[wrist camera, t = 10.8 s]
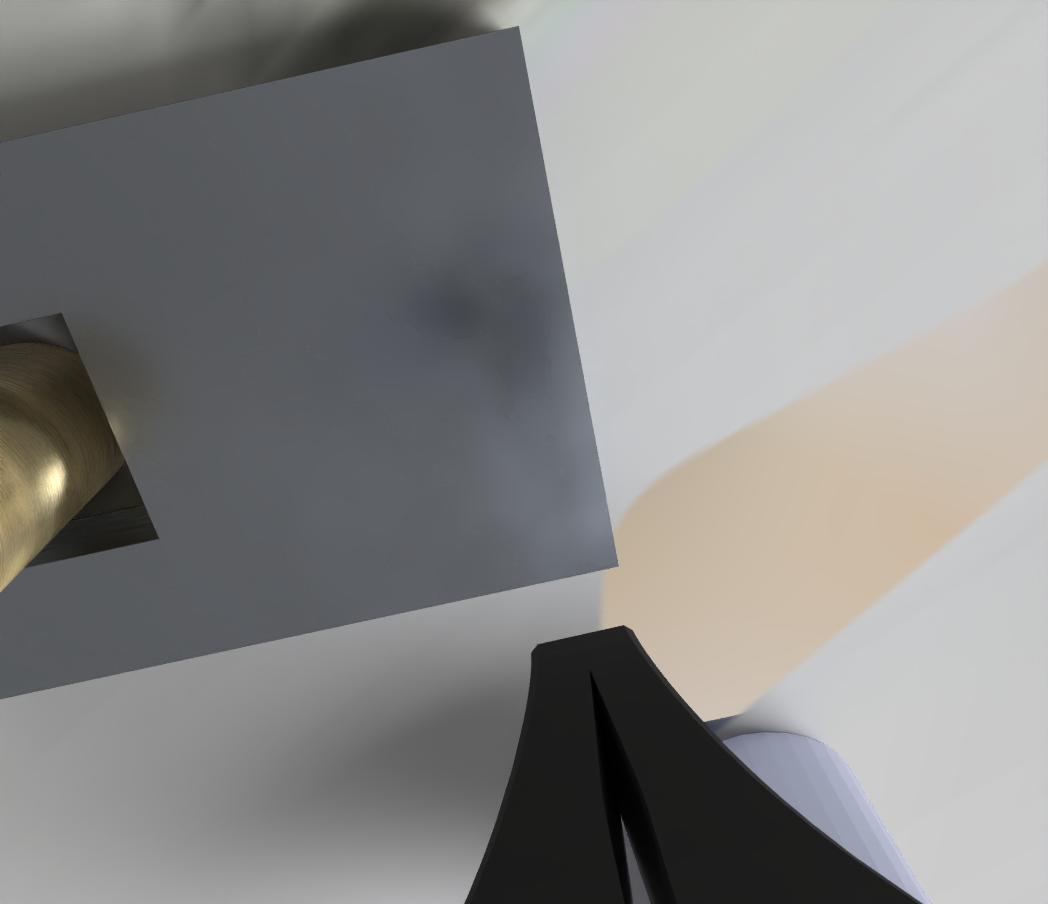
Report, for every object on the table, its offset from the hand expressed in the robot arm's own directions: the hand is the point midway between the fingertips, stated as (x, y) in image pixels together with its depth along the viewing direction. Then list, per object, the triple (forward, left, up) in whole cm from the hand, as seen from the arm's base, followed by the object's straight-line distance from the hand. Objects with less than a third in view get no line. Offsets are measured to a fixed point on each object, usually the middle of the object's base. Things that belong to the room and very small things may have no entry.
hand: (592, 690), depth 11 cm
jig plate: (+3, +8, -10) cm, 13 cm away
